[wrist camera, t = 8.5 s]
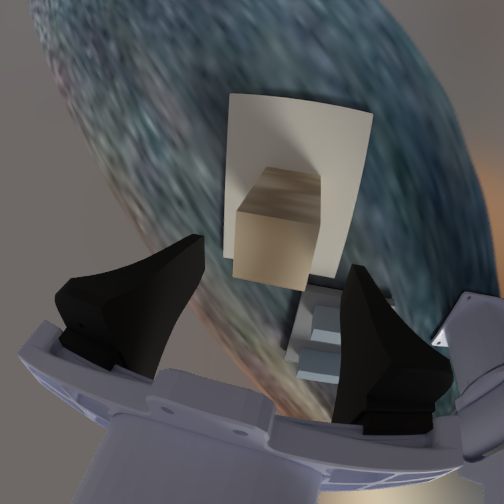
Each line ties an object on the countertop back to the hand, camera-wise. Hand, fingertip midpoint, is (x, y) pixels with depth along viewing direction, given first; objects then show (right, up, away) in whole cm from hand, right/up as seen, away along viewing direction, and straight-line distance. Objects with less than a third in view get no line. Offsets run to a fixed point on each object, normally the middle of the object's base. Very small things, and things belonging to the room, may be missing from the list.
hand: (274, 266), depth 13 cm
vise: (+8, -8, +14) cm, 18 cm away
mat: (+2, +5, +7) cm, 9 cm away
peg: (+2, +5, +7) cm, 9 cm away
